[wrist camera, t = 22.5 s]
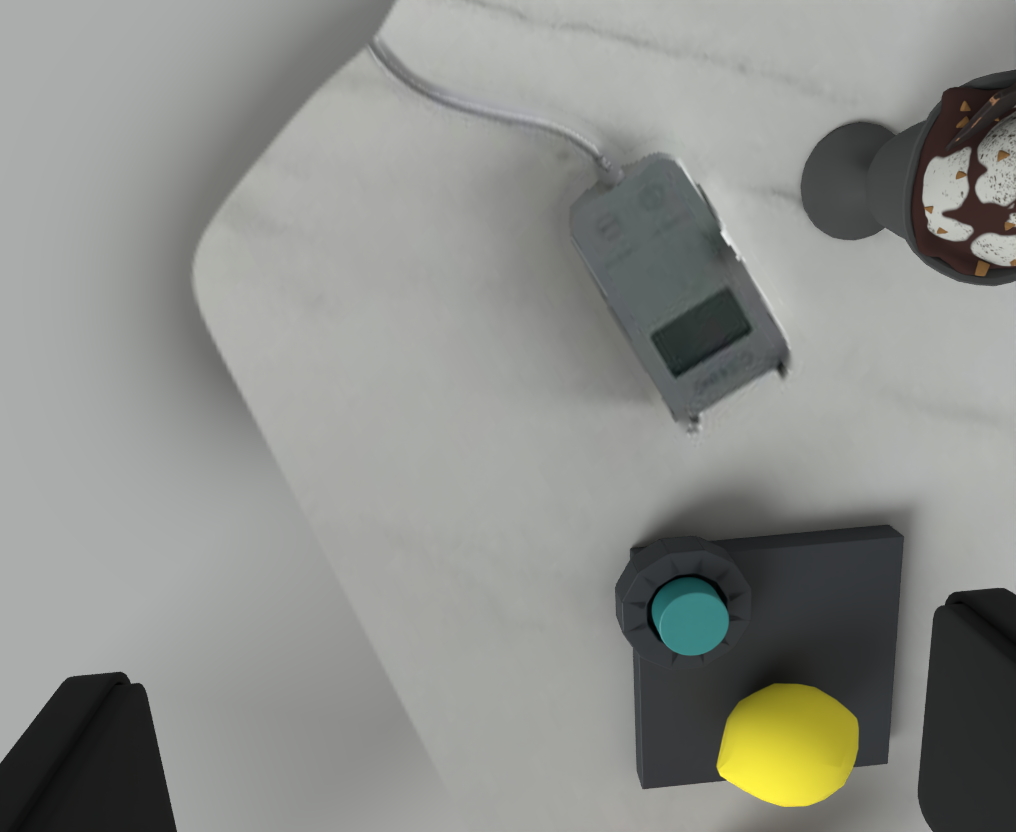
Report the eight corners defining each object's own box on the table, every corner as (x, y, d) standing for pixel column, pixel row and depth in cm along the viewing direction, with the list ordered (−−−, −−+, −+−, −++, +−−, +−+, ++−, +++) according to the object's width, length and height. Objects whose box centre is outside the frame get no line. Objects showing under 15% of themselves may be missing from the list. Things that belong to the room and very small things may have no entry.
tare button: (651, 641, 39) (659, 659, 37) (650, 579, 38) (658, 596, 36) (718, 634, 39) (729, 652, 37) (719, 573, 38) (729, 589, 36)
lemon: (818, 641, 41) (871, 708, 35) (844, 727, 42) (899, 804, 37) (685, 690, 41) (719, 764, 36) (715, 774, 42) (752, 856, 37)
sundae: (909, 267, 37) (1198, 320, 23) (767, 248, 36) (972, 291, 22) (948, 114, 35) (1289, 65, 21) (800, 91, 35) (1045, 25, 20)
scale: (617, 772, 44) (628, 814, 41) (607, 530, 40) (619, 557, 37) (874, 746, 44) (904, 785, 41) (890, 504, 40) (924, 529, 37)
